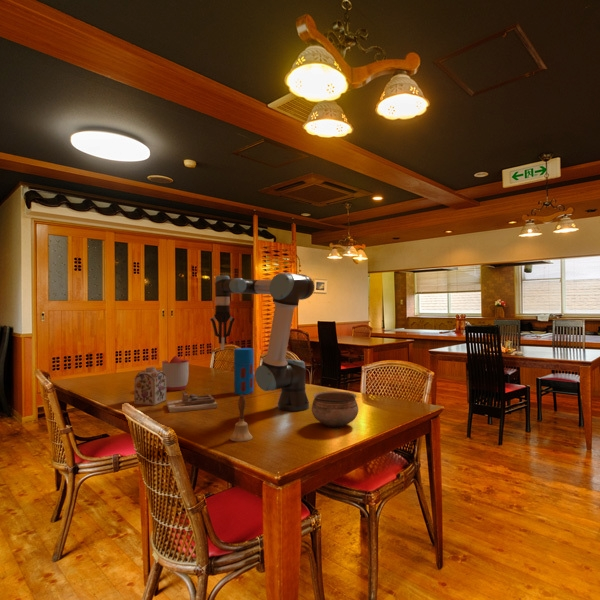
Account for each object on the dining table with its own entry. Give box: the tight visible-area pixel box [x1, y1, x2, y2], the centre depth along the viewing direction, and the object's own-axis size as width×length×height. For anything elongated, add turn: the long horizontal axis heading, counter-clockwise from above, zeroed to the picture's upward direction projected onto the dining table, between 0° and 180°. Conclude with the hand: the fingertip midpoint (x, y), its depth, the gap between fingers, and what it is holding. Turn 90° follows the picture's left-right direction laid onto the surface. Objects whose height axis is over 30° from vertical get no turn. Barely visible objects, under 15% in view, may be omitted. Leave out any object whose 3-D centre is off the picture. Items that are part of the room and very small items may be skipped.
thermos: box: [233, 347, 254, 396], centre depth 227 cm, size 11×11×25 cm
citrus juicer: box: [161, 355, 190, 392], centre depth 239 cm, size 16×17×20 cm
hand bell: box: [229, 395, 254, 443], centre depth 147 cm, size 8×8×16 cm
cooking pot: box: [311, 390, 359, 429], centre depth 162 cm, size 25×19×12 cm
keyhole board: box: [166, 393, 218, 414], centre depth 195 cm, size 16×22×5 cm
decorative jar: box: [133, 366, 167, 406], centre depth 205 cm, size 12×12×18 cm
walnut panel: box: [181, 391, 216, 405], centre depth 197 cm, size 12×14×4 cm
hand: (222, 349), depth 210 cm, fingers closed
